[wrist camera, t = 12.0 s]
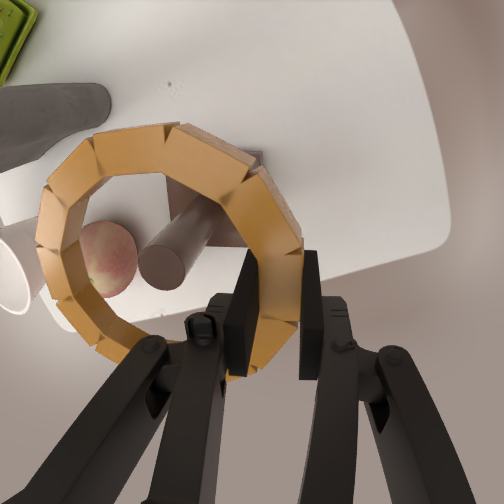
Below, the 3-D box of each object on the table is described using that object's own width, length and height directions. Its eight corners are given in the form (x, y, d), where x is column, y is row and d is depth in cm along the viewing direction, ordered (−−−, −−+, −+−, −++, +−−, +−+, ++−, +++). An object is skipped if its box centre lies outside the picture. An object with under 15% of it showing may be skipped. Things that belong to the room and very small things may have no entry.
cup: (91, 273, 38) (41, 323, 28) (38, 264, 39) (-11, 306, 29) (78, 197, 33) (14, 235, 23) (24, 197, 34) (-35, 230, 24)
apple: (87, 254, 36) (50, 287, 29) (98, 200, 33) (55, 226, 26) (141, 283, 37) (110, 323, 30) (157, 229, 34) (123, 263, 27)
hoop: (305, 117, 14) (306, 118, 12) (295, 372, 21) (294, 395, 19) (38, 144, 16) (15, 151, 14) (91, 347, 23) (79, 365, 21)
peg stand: (262, 151, 29) (232, 191, 16) (264, 241, 33) (240, 335, 20) (169, 155, 30) (83, 197, 17) (178, 239, 34) (114, 322, 21)
